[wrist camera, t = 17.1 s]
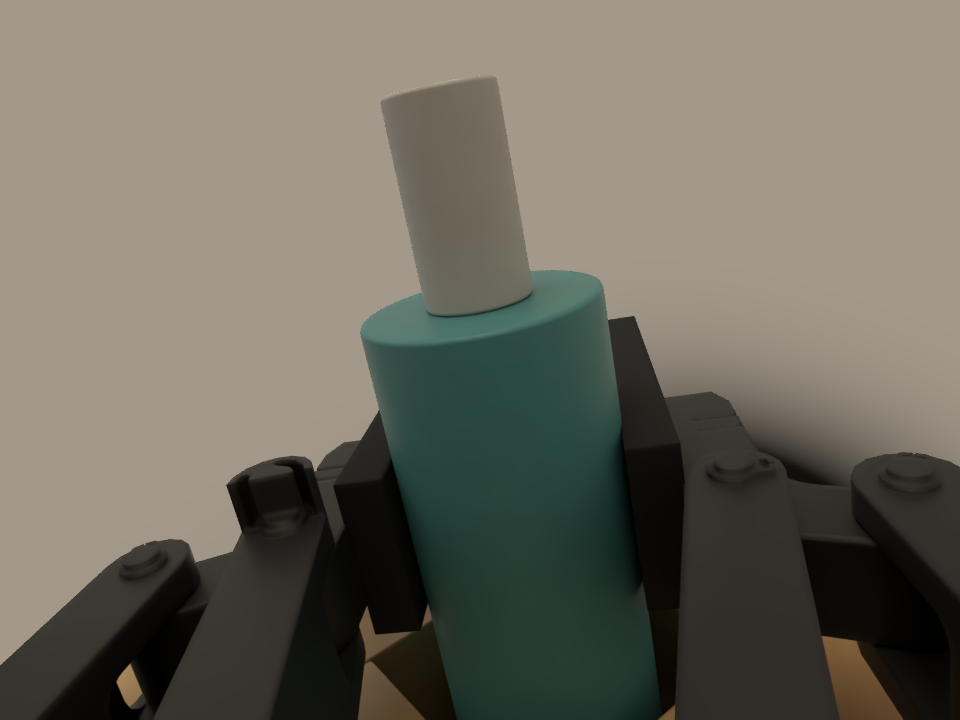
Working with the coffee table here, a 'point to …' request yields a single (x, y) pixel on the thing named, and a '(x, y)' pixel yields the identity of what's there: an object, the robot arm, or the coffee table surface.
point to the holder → (859, 696)
